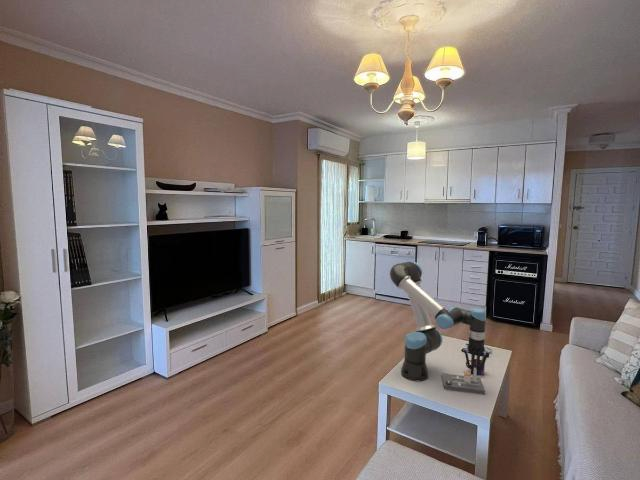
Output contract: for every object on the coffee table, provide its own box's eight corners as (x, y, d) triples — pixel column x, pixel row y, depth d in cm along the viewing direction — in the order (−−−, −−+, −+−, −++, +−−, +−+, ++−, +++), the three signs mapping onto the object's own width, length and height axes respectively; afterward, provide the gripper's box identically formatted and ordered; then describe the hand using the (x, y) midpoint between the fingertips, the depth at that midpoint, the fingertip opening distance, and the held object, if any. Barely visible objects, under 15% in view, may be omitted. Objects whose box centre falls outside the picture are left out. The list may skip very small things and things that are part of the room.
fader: (464, 382, 186) (464, 374, 186) (463, 379, 189) (463, 371, 189) (471, 383, 186) (471, 375, 185) (470, 380, 188) (470, 372, 188)
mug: (482, 376, 197) (483, 365, 197) (464, 371, 204) (464, 360, 203) (485, 372, 203) (486, 361, 202) (467, 367, 209) (468, 356, 208)
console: (443, 389, 184) (444, 383, 184) (441, 376, 198) (442, 371, 197) (484, 394, 179) (485, 388, 179) (480, 381, 192) (480, 375, 192)
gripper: (464, 339, 182) (462, 382, 185) (491, 342, 179) (488, 385, 181) (462, 334, 189) (460, 375, 192) (488, 336, 186) (485, 378, 188)
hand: (474, 380), depth 187 cm, fingers closed
